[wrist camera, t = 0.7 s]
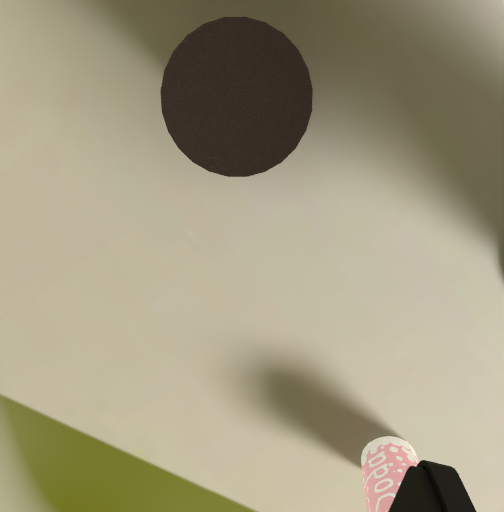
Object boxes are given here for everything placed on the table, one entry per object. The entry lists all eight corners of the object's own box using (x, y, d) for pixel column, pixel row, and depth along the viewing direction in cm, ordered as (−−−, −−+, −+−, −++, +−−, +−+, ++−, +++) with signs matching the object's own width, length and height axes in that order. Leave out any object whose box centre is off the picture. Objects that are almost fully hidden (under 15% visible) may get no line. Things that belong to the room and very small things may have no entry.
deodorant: (201, 75, 33) (134, 57, 18) (283, 37, 32) (278, -13, 17) (236, 156, 34) (198, 198, 20) (315, 123, 33) (334, 143, 19)
